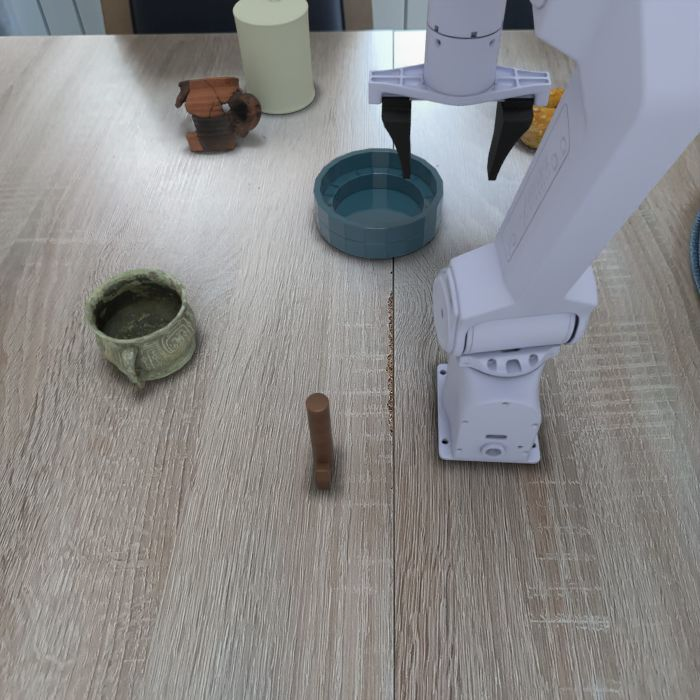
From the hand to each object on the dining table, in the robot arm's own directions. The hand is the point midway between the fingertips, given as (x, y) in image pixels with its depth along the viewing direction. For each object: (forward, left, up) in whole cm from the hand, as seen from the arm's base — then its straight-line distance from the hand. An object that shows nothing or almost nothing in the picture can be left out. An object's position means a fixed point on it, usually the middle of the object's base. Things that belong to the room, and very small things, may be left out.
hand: (448, 173), depth 60 cm
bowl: (+5, +7, -10) cm, 13 cm away
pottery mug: (+21, +27, -10) cm, 36 cm away
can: (+30, +21, -10) cm, 38 cm away
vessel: (-14, +27, -10) cm, 32 cm away
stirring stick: (-26, +10, -10) cm, 29 cm away
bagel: (+39, -58, -6) cm, 70 cm away
